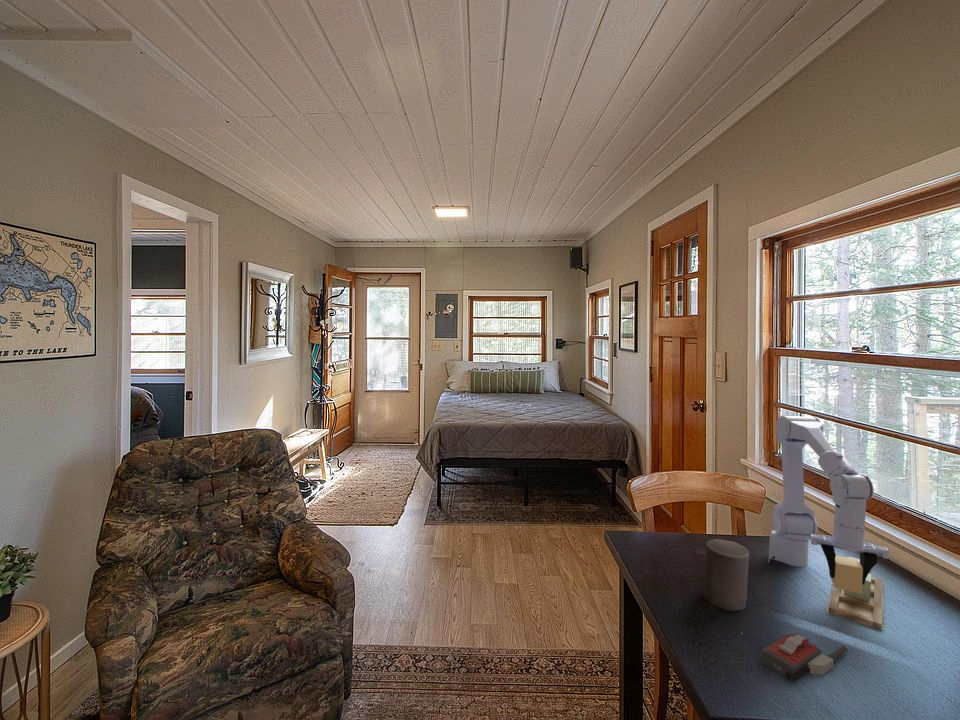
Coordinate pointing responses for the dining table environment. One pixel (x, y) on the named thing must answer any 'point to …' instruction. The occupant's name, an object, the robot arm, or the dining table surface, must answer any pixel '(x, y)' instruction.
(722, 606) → the pillar candle
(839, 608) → the slot board
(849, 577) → the ochre block
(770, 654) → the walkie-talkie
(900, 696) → the dining table surface
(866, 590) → the sage block
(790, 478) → the robot arm
